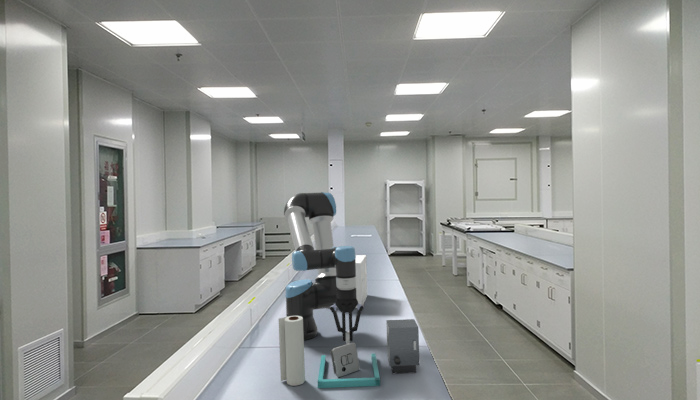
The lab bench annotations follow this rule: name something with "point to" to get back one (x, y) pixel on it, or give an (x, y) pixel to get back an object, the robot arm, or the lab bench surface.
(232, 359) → the lab bench surface
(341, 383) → the teal bay
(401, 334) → the control unit
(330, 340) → the lab bench surface
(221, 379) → the lab bench surface
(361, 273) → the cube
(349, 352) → the electrical switch
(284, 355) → the paper towel roll
